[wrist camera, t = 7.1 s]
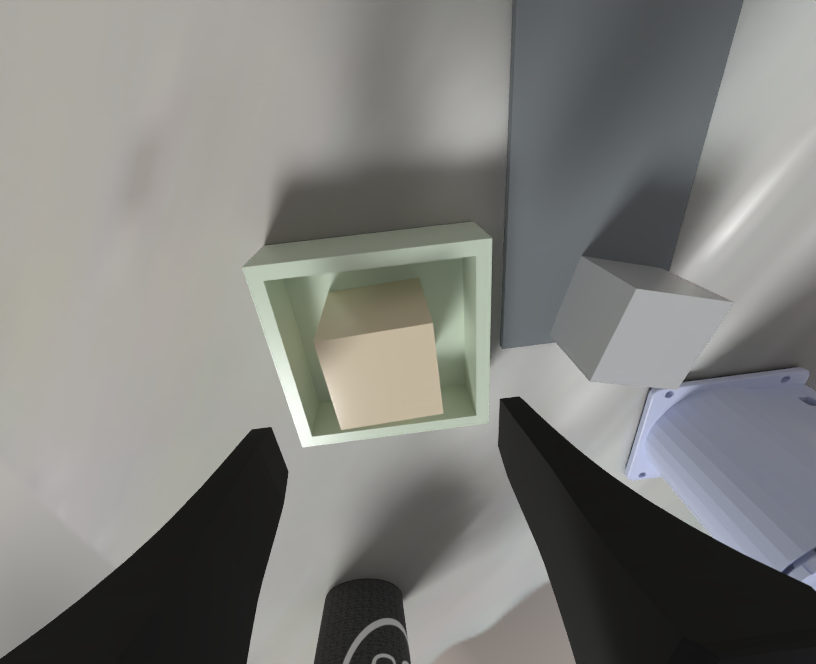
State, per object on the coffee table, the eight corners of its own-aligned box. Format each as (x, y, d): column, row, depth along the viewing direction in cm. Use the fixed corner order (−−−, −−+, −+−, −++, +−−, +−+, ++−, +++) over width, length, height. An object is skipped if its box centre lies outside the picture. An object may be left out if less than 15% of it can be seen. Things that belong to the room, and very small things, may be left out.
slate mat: (742, -29, 12) (752, -34, 12) (647, 326, 19) (652, 330, 19) (513, -6, 12) (517, -10, 12) (500, 345, 19) (502, 348, 19)
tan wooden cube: (418, 277, 16) (432, 323, 12) (428, 353, 18) (443, 413, 14) (328, 292, 16) (313, 342, 12) (348, 366, 18) (341, 430, 14)
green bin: (473, 221, 16) (492, 238, 13) (474, 387, 20) (488, 423, 18) (263, 245, 15) (241, 267, 13) (311, 407, 20) (302, 447, 17)
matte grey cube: (661, 268, 17) (734, 302, 14) (622, 342, 19) (677, 389, 16) (580, 255, 16) (636, 288, 13) (549, 334, 18) (589, 381, 15)
